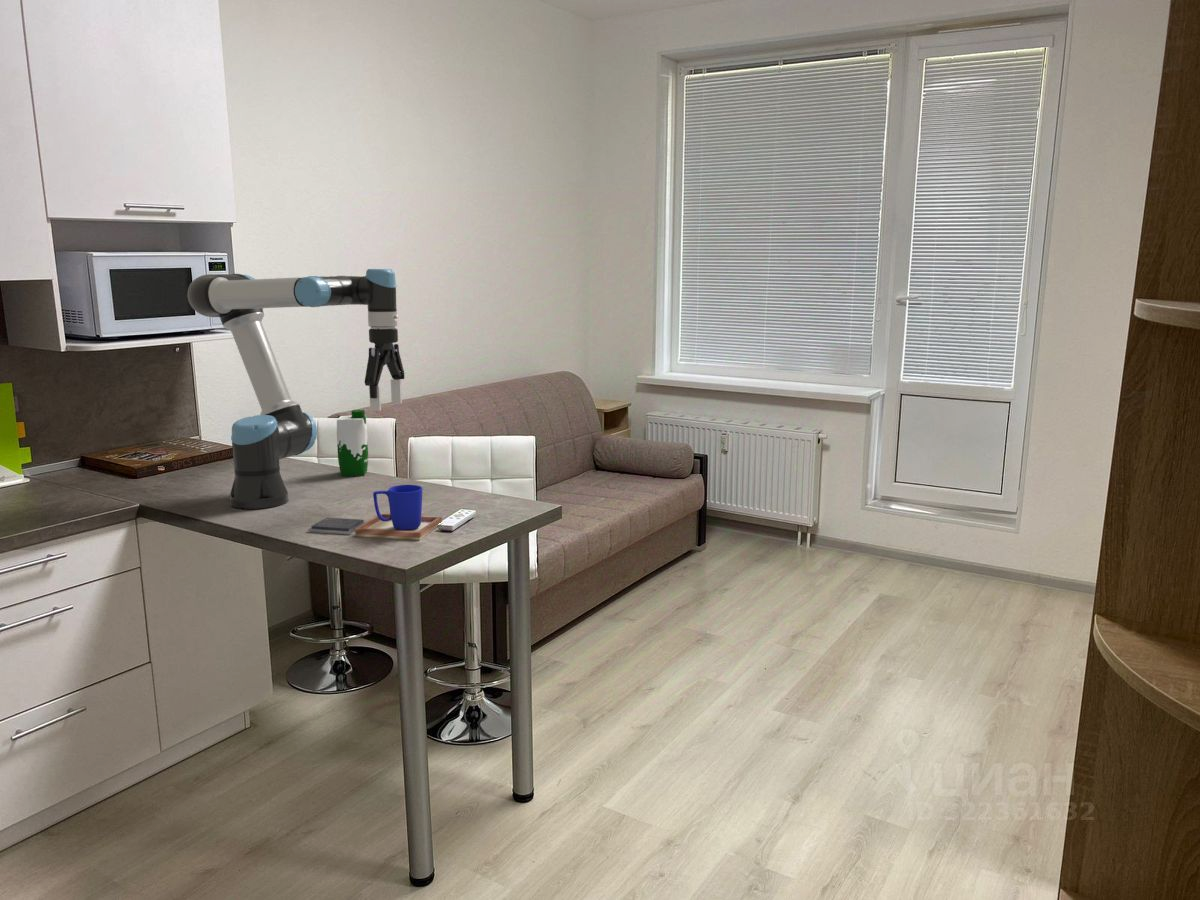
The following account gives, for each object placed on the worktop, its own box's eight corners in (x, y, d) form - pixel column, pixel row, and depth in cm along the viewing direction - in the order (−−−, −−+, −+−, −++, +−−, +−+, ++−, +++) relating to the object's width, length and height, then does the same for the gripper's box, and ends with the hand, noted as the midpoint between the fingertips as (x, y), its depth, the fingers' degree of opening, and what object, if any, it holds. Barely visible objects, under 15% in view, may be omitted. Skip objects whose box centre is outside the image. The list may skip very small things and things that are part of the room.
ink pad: (308, 532, 223) (308, 526, 223) (326, 522, 232) (325, 516, 232) (350, 534, 221) (349, 529, 221) (366, 524, 230) (366, 519, 230)
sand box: (355, 536, 220) (354, 528, 220) (380, 520, 234) (380, 513, 234) (420, 540, 217) (419, 532, 217) (442, 523, 231) (441, 516, 231)
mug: (379, 522, 230) (377, 484, 228) (427, 523, 229) (425, 484, 227) (370, 532, 222) (368, 492, 220) (419, 532, 221) (418, 492, 219)
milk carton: (366, 476, 283) (363, 412, 279) (336, 476, 282) (333, 413, 278) (370, 470, 292) (367, 408, 288) (341, 470, 291) (338, 408, 287)
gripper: (376, 330, 230) (379, 414, 234) (414, 325, 254) (417, 400, 258) (348, 330, 232) (352, 413, 236) (389, 324, 256) (392, 399, 260)
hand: (386, 406), depth 247 cm, fingers open, 13 cm apart
